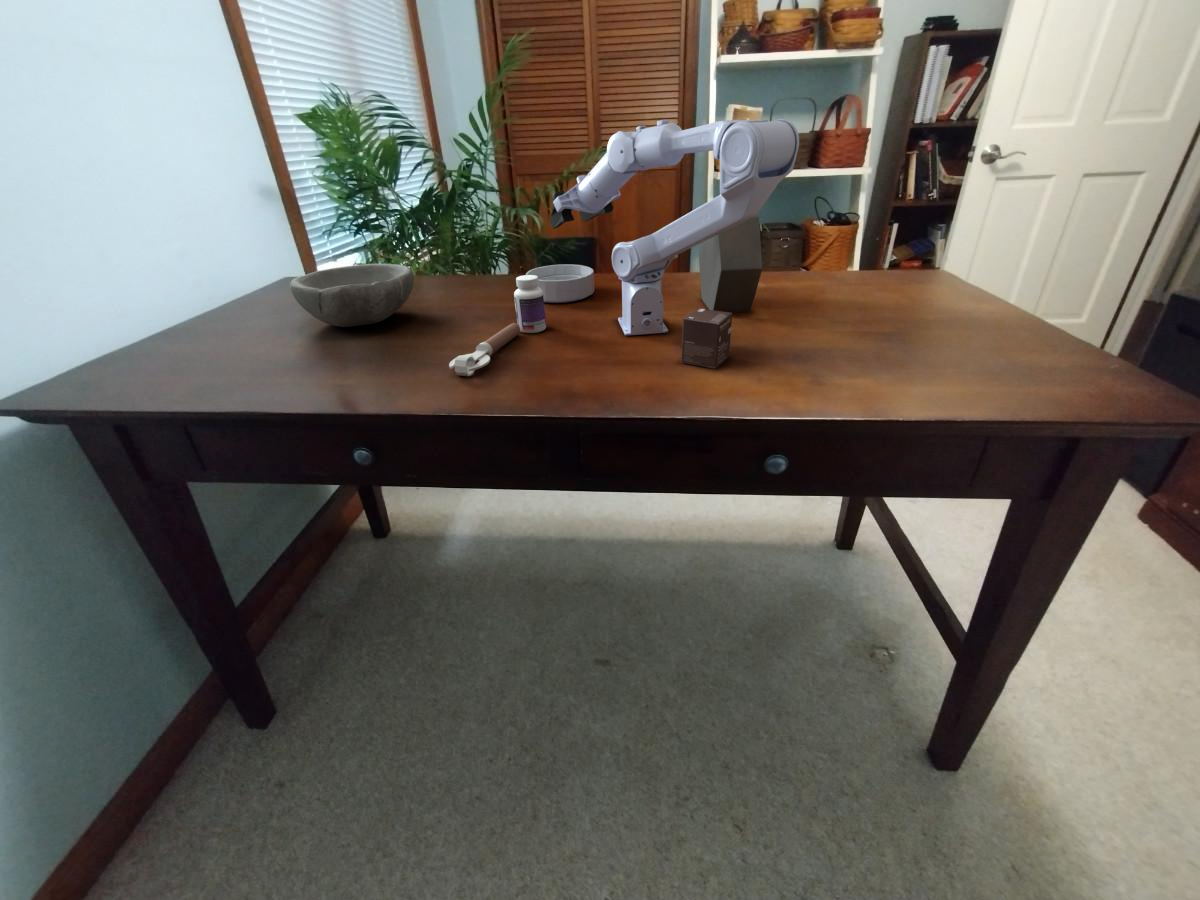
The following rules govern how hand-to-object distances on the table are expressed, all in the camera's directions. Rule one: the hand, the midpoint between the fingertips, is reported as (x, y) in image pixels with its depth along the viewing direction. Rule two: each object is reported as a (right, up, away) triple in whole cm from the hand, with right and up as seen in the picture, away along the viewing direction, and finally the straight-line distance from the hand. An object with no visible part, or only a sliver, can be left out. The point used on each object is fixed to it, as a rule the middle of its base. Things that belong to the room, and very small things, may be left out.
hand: (567, 220), depth 109 cm
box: (+23, -32, -21) cm, 45 cm away
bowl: (-42, -20, +3) cm, 46 cm away
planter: (+32, -16, +4) cm, 36 cm away
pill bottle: (-6, -23, -5) cm, 25 cm away
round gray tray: (-2, -11, +15) cm, 18 cm away
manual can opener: (-13, -30, -16) cm, 36 cm away
